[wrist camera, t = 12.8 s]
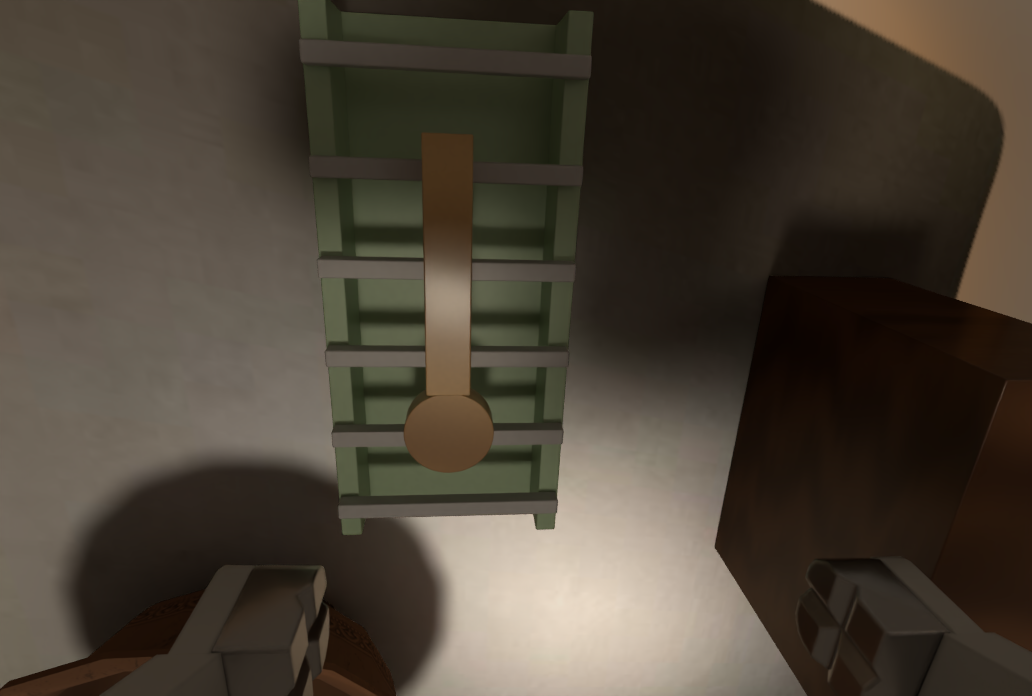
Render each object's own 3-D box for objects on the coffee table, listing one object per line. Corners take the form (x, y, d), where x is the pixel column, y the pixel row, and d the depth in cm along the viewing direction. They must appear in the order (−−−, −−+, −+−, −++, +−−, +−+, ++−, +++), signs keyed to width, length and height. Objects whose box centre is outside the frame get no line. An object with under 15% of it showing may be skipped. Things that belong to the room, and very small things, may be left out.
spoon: (396, 131, 21) (388, 130, 19) (500, 136, 22) (505, 135, 19) (407, 459, 26) (402, 490, 24) (491, 458, 27) (494, 488, 24)
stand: (768, 275, 30) (1006, 379, 17) (889, 277, 31) (1206, 379, 18) (714, 547, 36) (858, 777, 23) (815, 544, 37) (1010, 765, 24)
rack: (322, 14, 24) (290, -14, 19) (574, 30, 25) (599, 6, 21) (355, 489, 32) (338, 546, 28) (543, 486, 33) (556, 539, 29)
